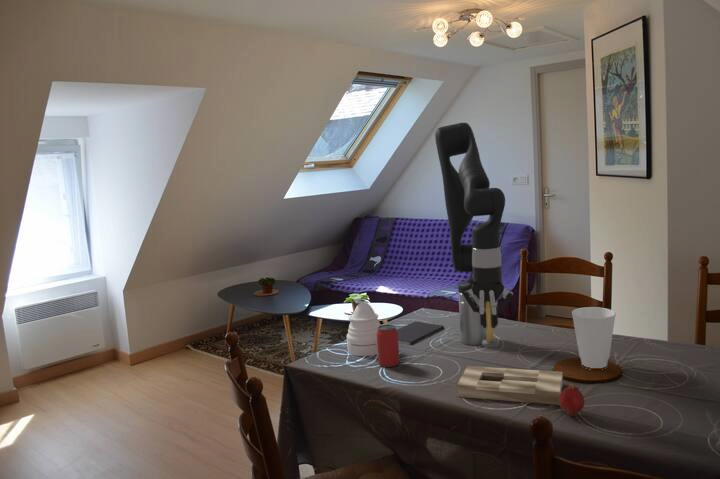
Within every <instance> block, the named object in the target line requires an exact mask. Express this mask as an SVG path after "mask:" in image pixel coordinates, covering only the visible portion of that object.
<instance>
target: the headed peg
mask: <svg viewBox="0 0 720 479" xmlns="http://www.w3.org/2000/svg"><path fill="white" fill-rule="evenodd" d="M485 314H486V338H487V339H485V340H483V341H482V344H481V345H482V347H484V348H497V347H498V346H499V341H498V340H497V339H494V328H492V308H491V302H489V301H486V302H485Z"/></svg>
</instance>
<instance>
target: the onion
mask: <svg viewBox="0 0 720 479" xmlns="http://www.w3.org/2000/svg"><path fill="white" fill-rule="evenodd" d="M559 403H560V405H559V406H560V408H561V409H562V411H564V412H565V413H566V414H568V415H569V416H571V417H573V416H575V415H577V414H578V413H579V412H581V411H582V410H583V409H584V407H585V398H584V395H583V393H582V391H581V390H579V389H578V388H577V387H575V386H574V384H572V383H571V384H570V383H569V385H568V386H567V387H565V388H564V389H562V392H561V394H560V396H559Z"/></svg>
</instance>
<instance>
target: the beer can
mask: <svg viewBox="0 0 720 479" xmlns="http://www.w3.org/2000/svg"><path fill="white" fill-rule="evenodd" d="M377 347H378V354H377V358H378V359H377V360H378V364H379V365H380V366H381V367H384V368H393V367H395V366H396V367H397V366H398V365H399V364H400V350H399V349H400V348H399V343H398V333H397V327H396V326H395V325H393V324H381V326H379V327H378V331H377Z"/></svg>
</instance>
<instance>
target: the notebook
mask: <svg viewBox="0 0 720 479" xmlns="http://www.w3.org/2000/svg"><path fill="white" fill-rule="evenodd" d="M444 328H445V326H444V325H442V324H434V323H429V322H422V321H412V322H410V323H408V324H406V325H404V326H402V327H400V328H396V330H397V333H398V344H404V345H409V346H411V345H414V344H416V343H418V342H420V341H422V340H423V339H426V338H428V337H430V336H431V335H433V334H436V333H438V332H439V331H442V330H444Z"/></svg>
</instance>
